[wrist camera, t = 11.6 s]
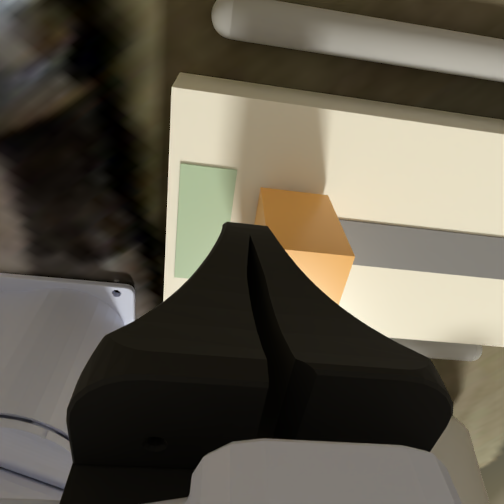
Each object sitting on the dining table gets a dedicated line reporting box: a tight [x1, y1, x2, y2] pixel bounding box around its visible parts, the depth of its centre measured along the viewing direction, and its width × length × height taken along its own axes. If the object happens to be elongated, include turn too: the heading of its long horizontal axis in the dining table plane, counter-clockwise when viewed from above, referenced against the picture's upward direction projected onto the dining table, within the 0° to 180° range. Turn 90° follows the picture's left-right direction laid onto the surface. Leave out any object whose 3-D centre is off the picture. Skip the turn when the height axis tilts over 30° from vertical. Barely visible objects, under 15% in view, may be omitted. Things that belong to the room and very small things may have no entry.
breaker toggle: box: [254, 187, 355, 305], centre depth 17 cm, size 3×5×5 cm, turn 171°
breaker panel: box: [163, 72, 504, 347], centre depth 21 cm, size 22×12×3 cm, turn 82°
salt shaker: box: [430, 415, 490, 504], centre depth 28 cm, size 6×6×13 cm
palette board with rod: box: [211, 0, 504, 361], centre depth 22 cm, size 20×19×2 cm
